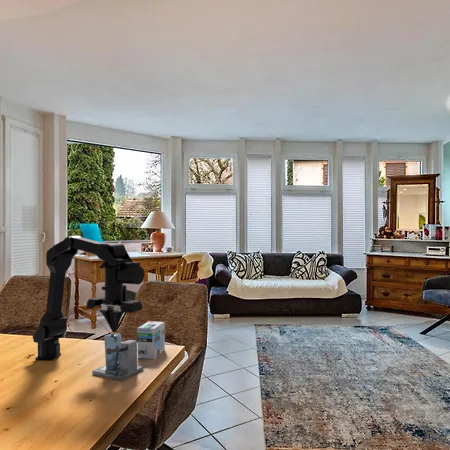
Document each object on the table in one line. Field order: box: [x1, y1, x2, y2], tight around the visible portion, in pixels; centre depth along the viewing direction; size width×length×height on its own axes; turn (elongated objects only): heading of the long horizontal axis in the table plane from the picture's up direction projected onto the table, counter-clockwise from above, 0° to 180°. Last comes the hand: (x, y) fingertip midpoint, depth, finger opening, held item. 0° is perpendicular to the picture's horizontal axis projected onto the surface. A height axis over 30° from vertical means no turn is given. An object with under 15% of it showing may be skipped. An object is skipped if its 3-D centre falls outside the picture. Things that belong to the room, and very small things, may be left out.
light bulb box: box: [136, 320, 166, 360], centre depth 141 cm, size 11×7×11 cm, turn 168°
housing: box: [103, 331, 122, 370], centre depth 124 cm, size 5×5×11 cm
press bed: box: [92, 339, 144, 382], centre depth 121 cm, size 12×14×11 cm
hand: (114, 331), depth 124 cm, fingers closed
